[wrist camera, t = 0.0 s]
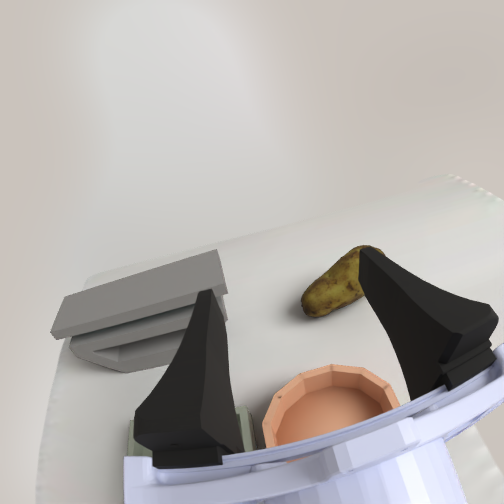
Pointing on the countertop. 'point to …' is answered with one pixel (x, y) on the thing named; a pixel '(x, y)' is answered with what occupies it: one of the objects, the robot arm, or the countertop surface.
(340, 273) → the potato
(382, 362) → the countertop surface
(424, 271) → the countertop surface
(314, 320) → the countertop surface
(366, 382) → the bowl
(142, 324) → the grey storage case
